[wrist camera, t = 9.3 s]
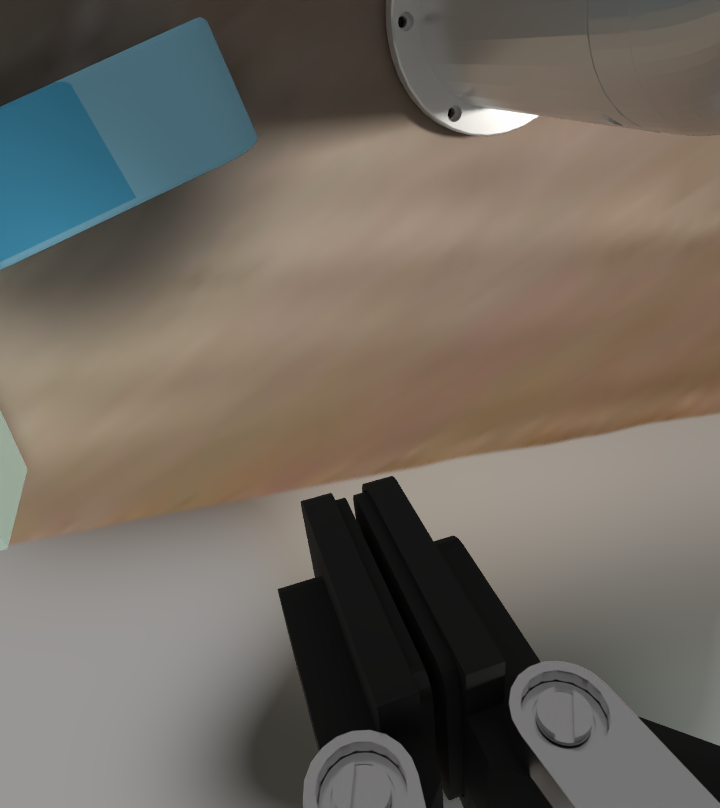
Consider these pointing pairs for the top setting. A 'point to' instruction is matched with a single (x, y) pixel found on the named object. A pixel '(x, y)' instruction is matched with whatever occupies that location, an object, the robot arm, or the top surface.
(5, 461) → the tray
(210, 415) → the top surface
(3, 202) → the data package
